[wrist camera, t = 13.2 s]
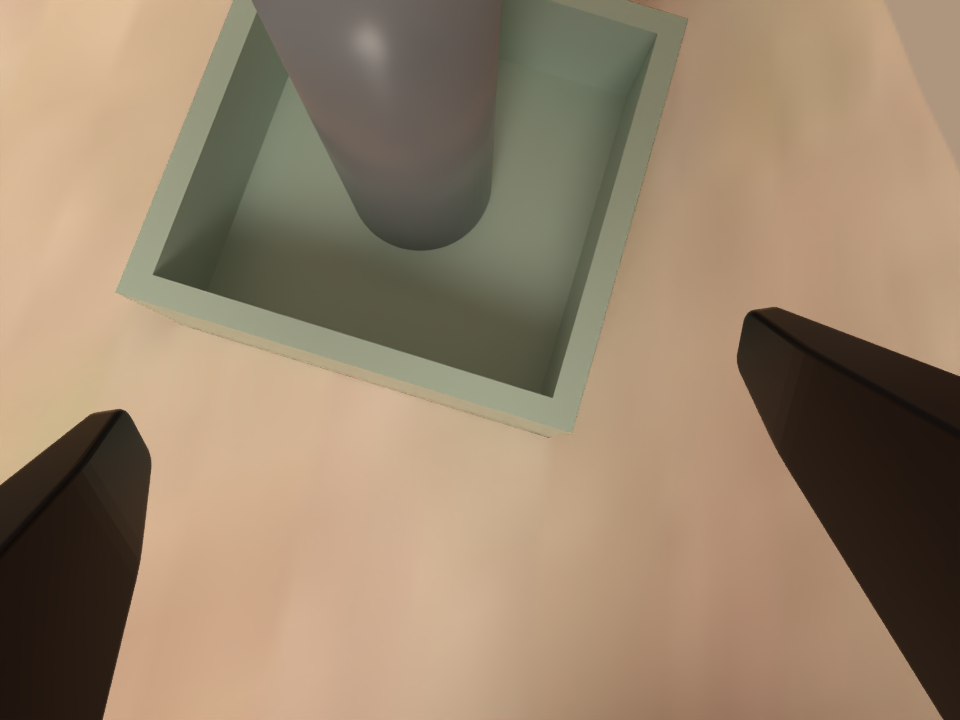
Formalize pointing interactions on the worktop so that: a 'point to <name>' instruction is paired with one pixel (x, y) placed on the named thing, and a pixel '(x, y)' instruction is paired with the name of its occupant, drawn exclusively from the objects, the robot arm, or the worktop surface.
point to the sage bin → (407, 273)
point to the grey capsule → (399, 105)
